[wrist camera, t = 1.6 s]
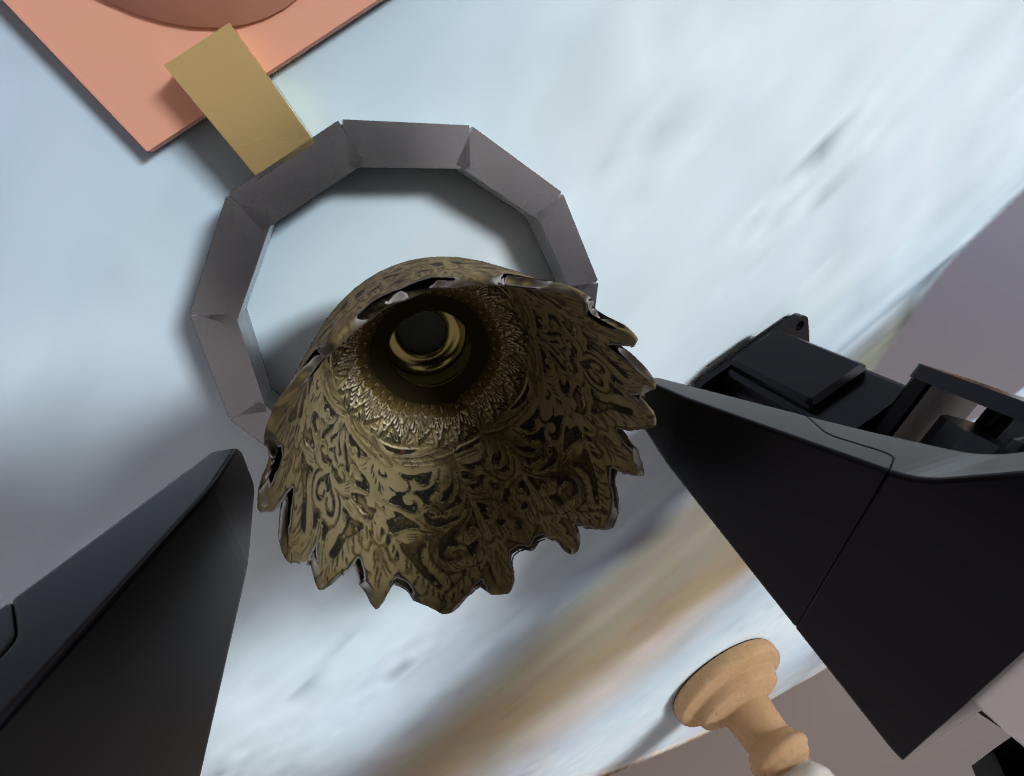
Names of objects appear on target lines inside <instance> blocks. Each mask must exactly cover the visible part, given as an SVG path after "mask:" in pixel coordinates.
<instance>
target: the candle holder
mask: <svg viewBox="0 0 1024 776" xmlns="http://www.w3.org/2000/svg"><path fill="white" fill-rule="evenodd" d="M779 663H780V655H779V652H778V650H777V649H776V647H775V646H774V645H773V644H772V643H771V642H770V641H768V640H765V639H753V640H749V641H746V642H743V643H741V644H738V645H736V646H734V647H732V648H730V649H728V650H726V651H725V652H723V653H721V654H720V655H718V656H717V657H715V658H714V659H712V660H711V661H710V662H708V663H707V664H706V665H704V666H703V667H702V668H701V669H700V670H698V671H697V672H696V673H695V674H694V675H693V676H692V677H691V678H690V679H689V680H688V681H687V682H686V683H685V685H684V686H683V687H682V688H681V690H680V691H679V693H678V694H677V696H676V698H675V701H674V705H673V709H674V712H675V715H676V717H677V718H678V720H679V721H680V722H681V723H682V724H683V725H685V726H688V727H697V726H702V727H703V728H704V729H706V730H711V731H712V730H718V729H721V728H723V727H726V726H727V727H728V728H729V729H730V731H731V732H732V733H733V734H734V735H735V737H736V738H737V739H738V740H739V742H740V743H741V744H742V745H743V747H744V748H745V749H746V750H747V752H748V753H749V761H750V765H751V766H750V768H751V772H752V774H753V775H754V776H834V774H833V773H832V772H831V771H830V770H829V769H828V768H826V767H825V766H823V765H821V764H819V763H816V762H814V761H812V760H810V759H809V754H810V751H809V748H808V740H807V737H806V736H805V734H803V733H802V732H800V731H797V730H795V729H794V728H791V727H789V726H787V725H786V723H785V722H784V720H783V719H782V718H781V716H780V714H779V713H778V711H777V710H776V708H775V707H774V705H773V704H772V702H771V701H770V699H769V697H768V695H769V694H770V693H771V692H772V690H773V689H774V687H775V686H776V683H777V675H776V672H775V671H776V669H777V668H778V665H779Z"/></svg>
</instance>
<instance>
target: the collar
mask: <svg viewBox="0 0 1024 776" xmlns="http://www.w3.org/2000/svg"><path fill="white" fill-rule="evenodd" d="M164 66H165V68H166V69H167V70H168V71H169V72H170V74H171V75H172V76H173V77H174V78H175V80H176V81H177V82H178V83H179V84H180V86H181V87H182V88H183V89H184V90H185V92H186V93H187V94H188V95H189V96H190V98H191V99H192V100H193V101H194V102H195V104H196V105H197V106H198V107H199V108H200V110H201V111H202V112H203V113H204V114H205V116H206V117H207V118H208V119H209V120H210V122H211V123H212V124H213V125H214V126H215V128H216V129H217V130H218V131H219V133H220V134H221V135H222V136H223V137H224V139H225V140H226V141H227V142H228V143H229V145H230V146H231V147H232V148H233V149H234V151H235V152H236V153H237V154H238V155H239V157H240V158H241V159H242V160H243V161H244V163H245V164H246V165H247V166H248V167H249V169H250V170H251V171H252V172H253V173H254V175H255V176H254V177H253V178H251V179H250V180H248V181H246V182H245V183H243V184H242V185H240V186H239V187H237V188H236V189H234V190H233V191H231V192H230V193H229V194H230V195H231V196H227V197H226V199H225V202H224V205H223V208H222V212H221V215H220V218H219V221H218V225H217V228H216V231H215V234H214V237H213V241H212V244H211V247H210V250H209V254H208V257H207V260H206V263H205V266H204V270H203V273H202V276H201V279H200V283H199V286H198V289H197V292H196V295H195V299H194V302H193V305H192V308H191V311H190V312H191V313H193V314H192V315H191V316H190V317H191V319H192V322H193V324H194V327H195V330H196V332H197V335H198V338H199V340H200V343H201V345H202V348H203V351H204V353H205V356H206V359H207V361H208V364H209V366H210V369H211V372H212V374H213V377H214V380H215V382H216V385H217V387H218V390H219V393H220V395H221V398H222V401H223V403H224V406H225V409H226V411H227V414H228V416H229V417H232V419H231V420H232V421H233V422H234V423H236V424H237V425H238V426H240V427H241V428H242V429H244V430H245V431H246V432H248V433H249V434H250V435H252V436H253V437H254V438H256V439H257V440H258V441H260V442H261V443H262V444H264V433H265V428H266V425H267V422H268V420H269V417H270V414H271V412H272V410H273V408H274V406H275V404H276V402H277V400H278V399H279V397H280V395H279V394H278V393H277V392H276V391H275V390H274V389H272V388H271V386H270V383H269V380H268V376H267V373H266V370H265V367H264V363H263V360H262V357H261V354H260V350H259V347H258V344H257V341H256V337H255V334H254V331H253V328H252V324H251V321H250V318H249V315H248V311H247V308H246V306H247V303H248V300H249V298H250V295H251V292H252V289H253V286H254V283H255V280H256V278H257V275H258V272H259V269H260V266H261V263H262V261H263V258H264V255H265V252H266V249H267V246H268V243H269V241H270V238H271V235H272V232H273V229H274V226H275V223H276V222H278V221H279V220H281V219H282V218H284V217H285V216H287V215H288V214H290V213H291V212H293V211H294V210H296V209H297V208H299V207H300V206H302V205H303V204H305V203H306V202H308V201H309V200H311V199H312V198H314V197H315V196H317V195H318V194H320V193H321V192H323V191H324V190H326V189H327V188H329V187H330V186H332V185H333V184H335V183H336V182H338V181H339V180H340V179H342V178H343V177H345V176H346V175H348V174H349V173H351V172H352V171H354V170H355V169H357V168H358V167H371V168H442V169H455V170H457V171H458V172H460V173H461V174H463V175H465V176H466V177H468V178H469V179H471V180H472V181H474V182H475V183H477V184H478V185H480V186H481V187H483V188H484V189H486V190H487V191H489V192H490V193H492V194H493V195H495V196H496V197H498V198H499V199H501V200H502V201H504V202H505V203H507V204H508V205H510V206H511V207H513V208H515V209H516V210H518V211H519V212H521V213H522V214H524V215H525V217H526V219H527V221H528V223H529V225H530V227H531V230H532V232H533V234H534V236H535V238H536V240H537V242H538V244H539V246H540V249H541V251H542V253H543V255H544V257H545V259H546V261H547V263H548V265H549V268H550V270H551V272H552V274H553V276H554V278H555V280H556V282H557V283H561V284H565V285H568V286H571V287H573V288H576V289H578V290H580V291H582V292H584V293H586V294H587V295H588V296H589V297H590V298H591V299H592V300H593V301H594V304H593V306H594V307H595V304H596V296H597V287H598V283H596V281H597V277H596V275H595V273H594V270H593V268H592V265H591V263H590V260H589V258H588V255H587V253H586V250H585V248H584V245H583V243H582V240H581V238H580V235H579V233H578V230H577V228H576V225H575V223H574V220H573V218H572V215H571V213H570V210H569V208H568V205H567V203H566V200H565V198H564V195H561V194H560V193H561V192H560V191H559V190H558V189H556V188H555V187H554V186H552V185H551V184H550V183H548V182H547V181H546V180H544V179H543V178H541V177H540V176H539V175H537V174H536V173H535V172H533V171H532V170H531V169H529V168H528V167H527V166H525V165H524V164H523V163H521V162H520V161H518V160H517V159H516V158H514V157H513V156H512V155H510V154H509V153H508V152H506V151H505V150H504V149H502V148H501V147H499V146H498V145H497V144H495V143H494V142H493V141H491V140H490V139H489V138H487V137H486V136H485V135H483V134H482V133H481V132H479V131H478V130H476V129H475V128H474V127H471V128H469V125H448V124H427V123H406V122H385V121H363V120H343V128H344V129H343V128H342V126H341V125H340V123H339V122H338V121H337V122H335V123H334V124H332V125H331V126H329V127H328V128H326V129H325V130H323V131H322V132H320V133H319V134H317V135H316V136H314V137H312V136H311V134H310V133H309V131H308V130H307V129H306V127H305V126H304V124H303V123H302V121H301V120H300V119H299V117H298V116H297V114H296V113H295V112H294V110H293V109H292V107H291V106H290V105H289V103H288V102H287V100H286V99H285V98H284V96H283V95H282V93H281V92H280V91H279V89H278V88H277V86H276V85H275V83H274V82H273V81H272V79H271V78H270V76H269V75H268V74H267V73H266V72H265V70H264V69H263V67H262V66H261V65H260V63H259V62H258V60H257V59H256V58H255V56H254V55H253V53H252V52H251V51H250V49H249V48H248V46H247V45H246V44H245V42H244V41H243V39H242V38H241V37H240V35H239V34H238V32H237V31H236V30H235V29H234V28H233V26H232V25H231V24H230V23H228V24H226V25H225V26H223V27H222V28H220V29H219V30H217V31H216V32H214V33H212V34H211V35H209V36H208V37H206V38H205V39H203V40H202V41H200V42H199V43H197V44H196V45H194V46H193V47H191V48H190V49H188V50H187V51H185V52H183V53H182V54H180V55H179V56H177V57H176V58H174V59H173V60H171V61H170V62H168V63H167V64H165V65H164ZM266 447H267V446H266Z"/></svg>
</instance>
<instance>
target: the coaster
mask: <svg viewBox="0 0 1024 776" xmlns="http://www.w3.org/2000/svg"><path fill="white" fill-rule="evenodd" d="M3 1H4V2H5V3H6V4H7V5H8V6H9V7H10V8H11V9H12V10H13V11H14V13H15V14H16V15H17V16H18V17H19V18H20V19H21V20H22V21H23V22H24V23H25V24H26V25H27V26H28V27H29V28H30V29H31V30H32V31H33V32H34V34H35V35H36V36H37V37H38V38H39V39H40V40H41V41H42V42H43V43H44V44H45V45H46V46H47V47H48V48H49V49H50V50H51V51H52V52H53V53H54V54H55V56H56V57H57V58H58V59H59V60H60V61H61V62H62V63H63V64H64V65H65V66H66V67H67V68H68V69H69V70H70V71H71V72H72V73H73V74H74V75H75V77H76V78H77V79H78V80H79V81H80V82H81V83H82V84H83V85H84V86H85V87H86V88H87V89H88V90H89V91H90V92H91V93H92V94H93V95H94V96H95V97H96V99H97V100H98V101H99V102H100V103H101V104H102V105H103V106H104V107H105V108H106V109H107V110H108V111H109V112H110V113H111V114H112V115H113V116H114V117H115V118H116V120H117V121H118V122H119V123H120V124H121V125H122V126H123V127H124V128H125V129H126V130H127V131H128V132H129V133H130V134H131V135H132V136H133V137H134V138H135V139H136V140H137V142H138V143H139V144H140V145H141V146H142V147H143V148H144V149H145V150H146V151H147V152H155V151H156V150H158V149H159V148H161V147H162V146H164V145H165V144H167V143H168V142H170V141H171V140H173V139H174V138H176V137H177V136H179V135H180V134H182V133H183V132H185V131H186V130H188V129H189V128H191V127H192V126H194V125H195V124H197V123H198V122H200V121H202V120H203V119H205V118H206V116H205V114H204V113H203V112H202V111H201V110H200V108H199V107H198V106H197V105H196V104H195V102H194V101H193V100H192V99H191V98H190V96H189V95H188V94H187V93H186V92H185V90H184V89H183V88H182V87H181V86H180V84H179V83H178V82H177V81H176V80H175V78H174V77H173V76H172V75H171V74H170V72H169V71H168V70H167V69H166V68H165V66H164V65H165V64H167V63H168V62H170V61H171V60H173V59H174V58H176V57H177V56H179V55H180V54H182V53H183V52H185V51H187V50H188V49H190V48H191V47H193V46H194V45H196V44H197V43H199V42H200V41H202V40H203V39H205V38H206V37H208V36H209V35H211V34H212V33H214V32H216V31H217V30H219V29H220V28H222V27H223V26H225V25H226V24H228V23H230V24H231V25H232V26H233V28H234V29H235V30H236V31H237V32H238V34H239V35H240V37H241V38H242V39H243V41H244V42H245V44H246V45H247V46H248V48H249V49H250V51H251V52H252V53H253V55H254V56H255V58H256V59H257V60H258V62H259V63H260V65H261V66H262V67H263V69H264V70H265V72H266V73H267V74H268V75H269V76H270V75H271V74H273V73H274V72H276V71H277V70H279V69H280V68H282V67H283V66H285V65H286V64H288V63H289V62H291V61H292V60H294V59H296V58H297V57H299V56H300V55H302V54H303V53H305V52H306V51H308V50H309V49H311V48H312V47H314V46H315V45H317V44H318V43H320V42H321V41H323V40H324V39H326V38H327V37H329V36H330V35H332V34H333V33H335V32H336V31H338V30H339V29H341V28H343V27H344V26H346V25H347V24H349V23H350V22H352V21H353V20H355V19H356V18H358V17H359V16H361V15H362V14H364V13H365V12H367V11H368V10H370V9H371V8H373V7H374V6H376V5H377V4H379V3H380V2H382V1H383V0H3Z"/></svg>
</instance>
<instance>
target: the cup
mask: <svg viewBox="0 0 1024 776" xmlns="http://www.w3.org/2000/svg"><path fill="white" fill-rule="evenodd" d="M593 304H594V301H593V300H592V299H591V298H590V297H589V296H588V295H587V294H586V293H584V292H582V291H580V290H578V289H576V288H573V287H571V286H568V285H565V284H561V283H557V282H552V281H547V280H542V279H538V278H535V277H533V276H530V275H526V274H523V273H520V272H517V271H514V270H510V269H507V268H503V267H500V266H497V265H493V264H490V263H486V262H483V261H478V260H472V259H466V258H460V257H428V258H420V259H415V260H410V261H406V262H403V263H400V264H397V265H394V266H391V267H389V268H387V269H385V270H382V271H380V272H378V273H377V274H375V275H373V276H372V277H370V278H368V279H367V280H365V281H364V282H363V283H361V284H360V285H359V286H357V287H356V288H355V289H354V290H352V291H351V292H350V293H349V294H348V295H347V296H346V297H345V298H344V299H343V300H342V301H341V302H340V303H339V304H338V305H337V307H336V308H335V309H334V311H333V312H332V313H331V314H330V316H329V317H328V318H327V320H326V321H325V322H324V324H323V326H322V327H321V329H320V331H319V332H318V334H317V336H316V337H315V339H314V341H313V342H312V344H311V346H310V347H309V349H308V351H307V353H306V354H305V356H304V358H303V360H302V362H301V363H300V365H299V367H298V369H297V371H296V373H295V375H294V377H293V379H292V380H291V382H290V383H289V385H288V386H287V387H286V389H285V390H284V391H283V393H282V394H281V396H280V397H279V399H278V400H277V402H276V404H275V406H274V408H273V410H272V412H271V414H270V417H269V420H268V422H267V425H266V428H265V433H264V445H265V446H267V448H268V453H269V460H268V463H267V466H266V469H265V471H264V473H263V475H262V478H261V481H260V485H259V487H258V504H257V507H258V509H259V511H260V512H265V511H268V512H274V511H275V510H276V509H277V508H279V506H280V503H281V506H280V516H279V533H278V536H279V542H280V546H281V550H282V553H283V555H284V557H285V559H286V560H287V561H288V562H289V563H291V564H292V563H293V562H295V563H299V564H300V563H301V562H303V561H307V565H311V567H312V571H313V575H314V579H315V583H316V585H317V587H318V589H319V590H323V589H325V588H326V587H328V586H329V585H331V584H332V583H334V582H335V581H336V580H337V579H338V578H339V577H340V576H341V575H344V574H345V572H346V571H347V570H349V569H350V568H351V567H352V566H353V564H354V565H355V567H356V572H357V574H358V577H359V585H360V586H361V587H362V589H363V590H364V591H365V593H366V595H367V597H368V599H369V601H370V603H371V604H372V606H373V607H374V608H375V609H378V608H379V607H380V606H381V604H382V603H383V601H384V600H385V598H386V596H387V594H388V592H389V590H390V588H391V587H392V585H393V584H394V585H396V586H399V587H401V588H403V589H405V590H406V591H407V592H408V593H409V594H410V596H411V598H412V599H413V601H416V602H418V603H421V604H423V605H426V606H428V607H430V608H432V609H434V610H436V611H438V612H439V613H441V614H449V613H452V612H453V611H455V610H456V609H457V608H458V607H459V606H460V605H461V604H462V603H463V602H464V600H465V599H466V598H467V597H468V596H469V595H470V594H472V593H473V592H474V591H475V590H477V589H478V588H479V587H481V588H482V589H484V590H485V591H487V592H488V593H490V594H491V595H501V594H508V593H510V591H511V590H512V587H513V584H514V581H515V579H514V578H515V577H514V570H513V558H514V556H515V555H516V554H517V553H519V552H520V551H524V550H529V551H532V550H534V549H535V548H536V546H537V545H538V543H539V542H540V541H543V540H545V539H543V540H540V539H542V538H544V537H547V539H548V538H549V539H550V540H552V541H554V540H555V541H556V542H558V543H559V545H560V546H561V547H562V548H563V549H564V550H565V551H566V552H567V553H569V554H573V553H576V552H577V551H578V549H579V546H580V535H579V530H578V526H584V527H583V528H585V529H595V530H597V529H601V530H607V529H611V528H613V527H614V524H615V522H616V520H617V517H618V514H619V512H618V510H619V507H618V506H619V505H618V502H619V498H618V492H617V488H616V485H615V478H616V475H617V471H619V472H622V473H623V474H630V475H634V476H642V475H644V469H643V465H642V461H641V459H640V456H639V452H638V449H637V448H636V447H635V446H634V445H633V444H632V443H631V442H630V440H629V439H628V437H627V435H626V434H625V432H624V431H623V430H626V431H633V430H639V429H648V428H652V427H654V426H655V425H656V416H655V414H654V412H653V410H652V409H651V408H650V407H649V405H648V404H647V403H646V402H645V401H644V399H645V395H644V393H646V392H648V391H650V390H653V389H655V388H656V383H655V381H654V379H653V377H652V375H651V374H650V373H649V371H648V370H647V369H646V368H645V366H644V365H643V364H642V363H641V362H640V361H639V360H638V359H636V357H635V356H633V355H632V354H631V353H630V352H629V351H627V350H626V349H625V348H623V347H622V346H630V347H631V348H632V347H634V345H635V344H636V343H637V341H638V338H637V337H636V335H635V334H634V333H633V332H632V331H631V330H630V329H629V328H628V327H626V326H625V325H624V324H621V323H619V322H617V321H615V320H613V319H611V318H609V317H607V316H605V315H603V314H602V313H600V312H599V311H597V310H596V309H595V307H594V306H593ZM424 311H434V312H436V313H437V314H438V315H440V316H441V317H442V319H443V320H444V322H445V325H446V330H447V333H446V338H445V340H444V342H443V344H442V345H441V346H440V347H439V348H438V349H437V350H435V351H433V352H431V353H428V354H416V353H413V352H411V351H409V350H407V349H406V348H405V347H404V346H403V344H402V343H401V341H400V338H399V326H400V324H401V323H402V322H403V321H404V320H405V319H407V318H408V317H410V316H412V315H414V314H416V313H419V312H424ZM538 540H540V541H538ZM520 549H521V550H520ZM518 550H519V551H518ZM516 551H518V552H516ZM514 552H516V553H515V554H514V555H513V557H512V561H511V555H512V554H513V553H514Z"/></svg>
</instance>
